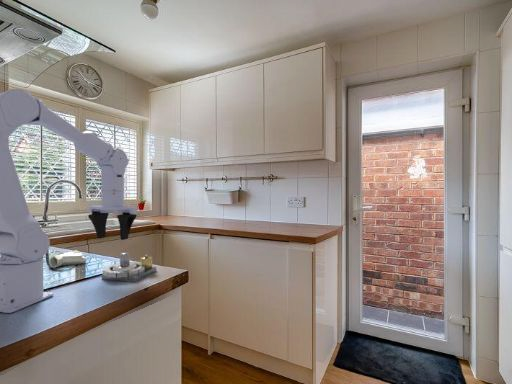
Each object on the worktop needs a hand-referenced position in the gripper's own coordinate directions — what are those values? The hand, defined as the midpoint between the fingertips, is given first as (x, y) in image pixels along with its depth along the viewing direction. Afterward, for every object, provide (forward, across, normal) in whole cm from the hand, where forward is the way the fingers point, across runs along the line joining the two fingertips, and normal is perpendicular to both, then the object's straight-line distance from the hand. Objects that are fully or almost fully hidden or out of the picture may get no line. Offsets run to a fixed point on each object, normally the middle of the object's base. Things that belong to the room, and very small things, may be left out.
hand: (112, 238), depth 80 cm
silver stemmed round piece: (+9, -5, +1) cm, 10 cm away
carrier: (+10, -6, 0) cm, 11 cm away
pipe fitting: (+10, +19, -4) cm, 22 cm away
